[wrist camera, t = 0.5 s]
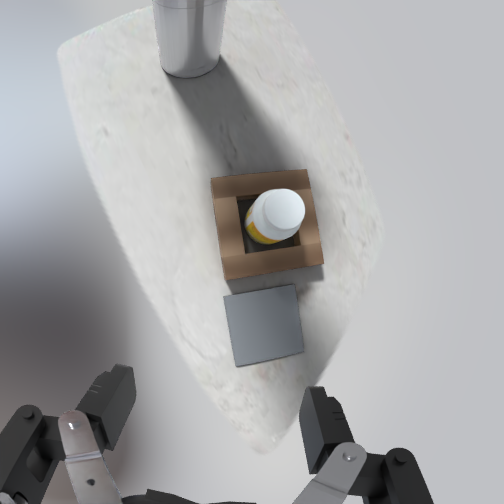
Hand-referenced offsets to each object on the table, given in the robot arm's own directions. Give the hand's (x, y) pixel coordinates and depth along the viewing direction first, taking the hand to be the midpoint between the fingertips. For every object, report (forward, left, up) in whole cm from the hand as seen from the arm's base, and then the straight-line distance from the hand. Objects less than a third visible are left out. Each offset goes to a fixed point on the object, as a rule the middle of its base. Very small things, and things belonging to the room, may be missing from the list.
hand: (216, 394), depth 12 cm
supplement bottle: (-10, +9, -23) cm, 27 cm away
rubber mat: (+2, +7, -23) cm, 24 cm away
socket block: (-10, +9, -23) cm, 27 cm away
